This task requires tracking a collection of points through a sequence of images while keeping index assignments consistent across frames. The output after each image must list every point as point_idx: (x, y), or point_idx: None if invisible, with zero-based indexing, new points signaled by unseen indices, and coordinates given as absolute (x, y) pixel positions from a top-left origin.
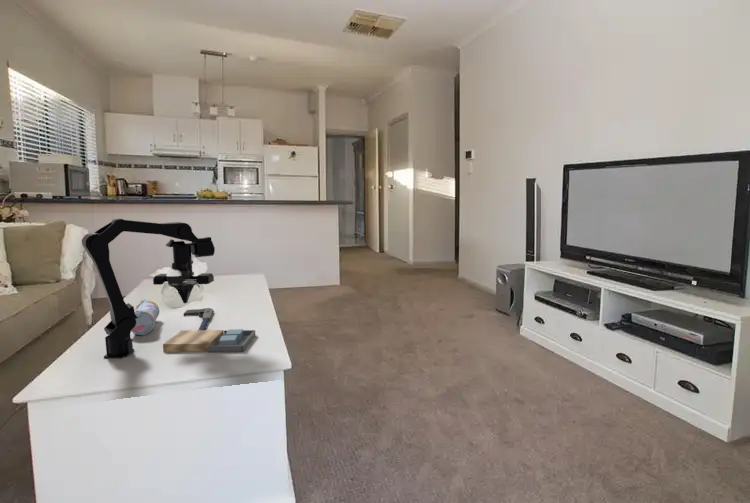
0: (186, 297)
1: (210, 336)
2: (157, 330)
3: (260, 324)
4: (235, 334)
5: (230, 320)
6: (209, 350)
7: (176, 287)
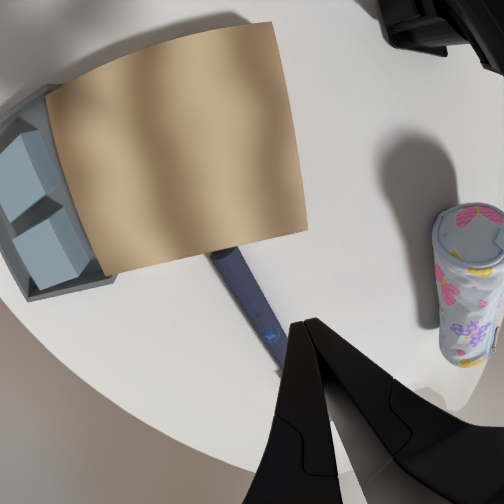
0: (287, 376)
1: (95, 181)
2: (417, 267)
3: (105, 374)
4: (23, 232)
5: (221, 391)
6: (54, 85)
7: (492, 452)
